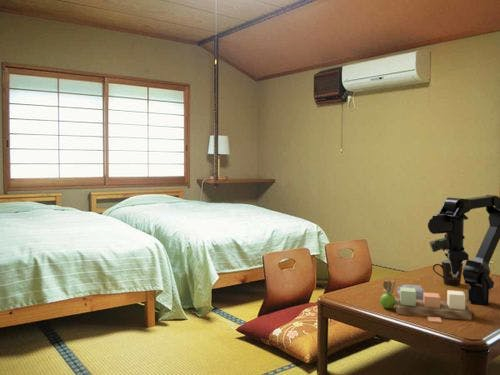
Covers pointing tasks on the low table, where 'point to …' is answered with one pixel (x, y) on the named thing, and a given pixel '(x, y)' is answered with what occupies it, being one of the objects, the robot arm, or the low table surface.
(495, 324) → the low table surface
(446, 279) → the coffee mug
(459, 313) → the walnut board
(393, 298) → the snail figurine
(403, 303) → the key sage
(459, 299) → the cream cube
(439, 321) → the tile
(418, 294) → the stone block
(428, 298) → the peach cube
